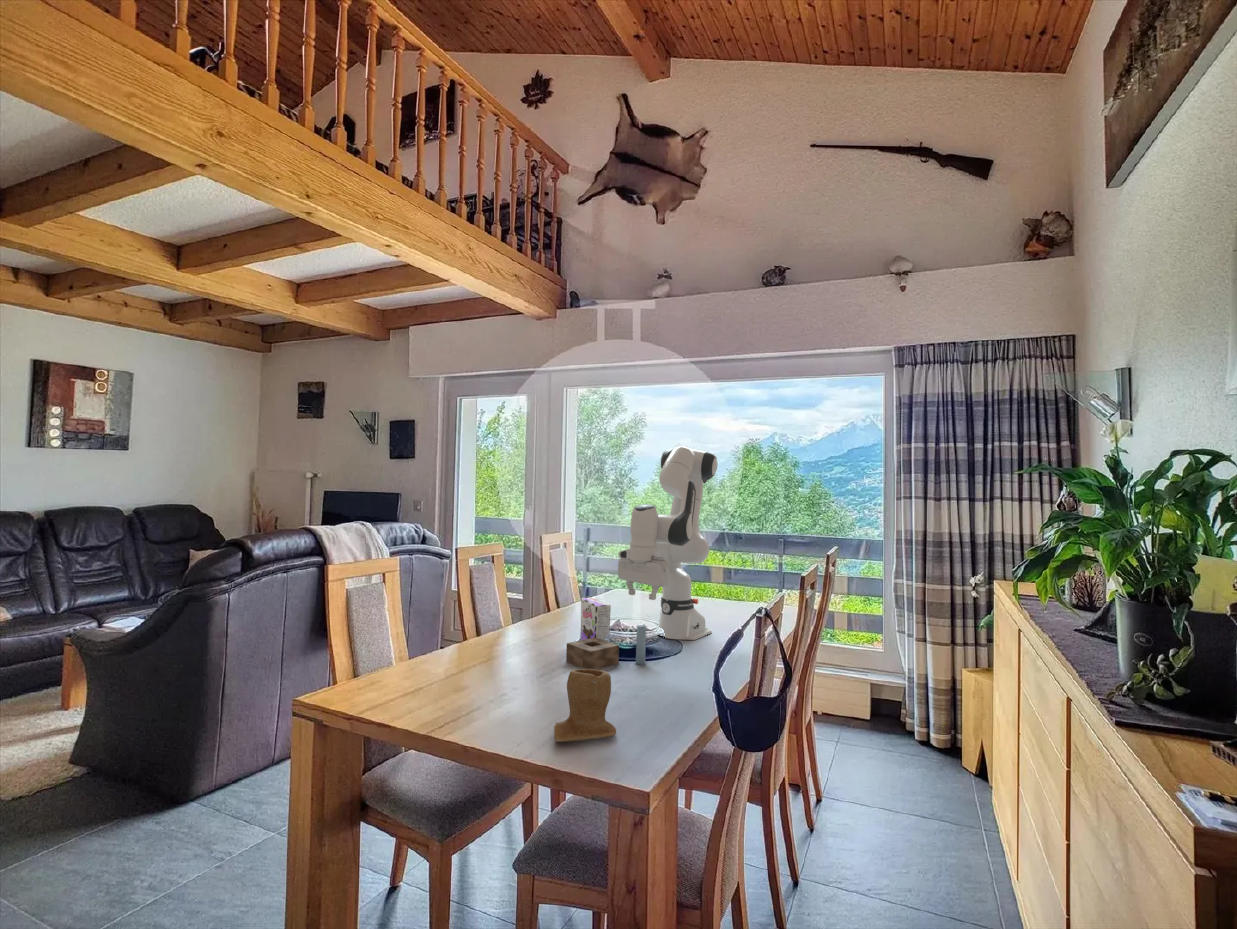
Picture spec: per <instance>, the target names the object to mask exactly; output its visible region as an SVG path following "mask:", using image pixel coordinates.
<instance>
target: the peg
mask: <svg viewBox="0 0 1237 929" xmlns="http://www.w3.org/2000/svg"><path fill="white" fill-rule="evenodd" d="M635 642H636V644H635V664H636V665H640V666H642V665H645V664H646V646H647V626H646V625H644V624H638V625H636V641H635Z"/></svg>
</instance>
